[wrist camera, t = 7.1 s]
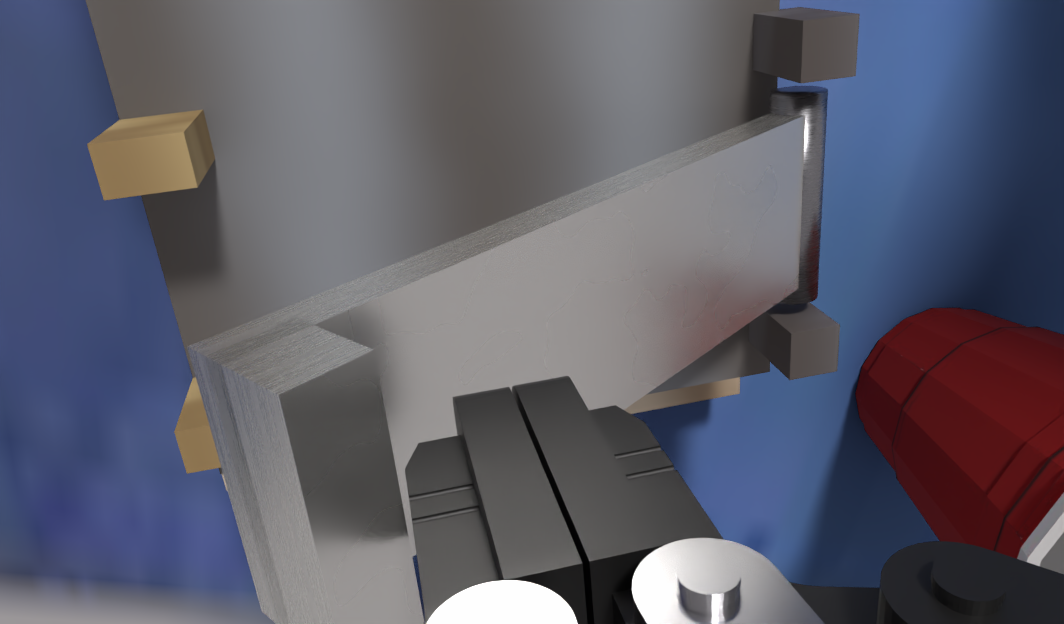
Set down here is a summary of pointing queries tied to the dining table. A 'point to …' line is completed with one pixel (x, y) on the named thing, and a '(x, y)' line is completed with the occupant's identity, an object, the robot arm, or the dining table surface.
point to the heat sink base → (425, 140)
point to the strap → (495, 347)
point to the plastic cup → (974, 428)
